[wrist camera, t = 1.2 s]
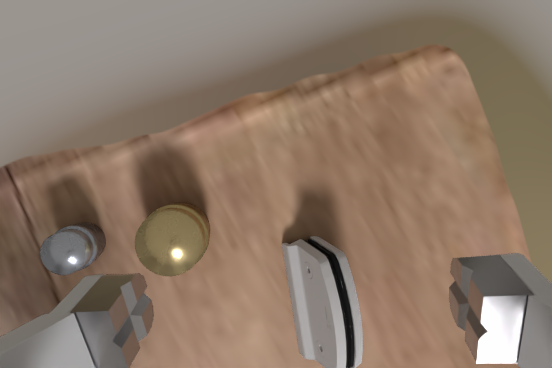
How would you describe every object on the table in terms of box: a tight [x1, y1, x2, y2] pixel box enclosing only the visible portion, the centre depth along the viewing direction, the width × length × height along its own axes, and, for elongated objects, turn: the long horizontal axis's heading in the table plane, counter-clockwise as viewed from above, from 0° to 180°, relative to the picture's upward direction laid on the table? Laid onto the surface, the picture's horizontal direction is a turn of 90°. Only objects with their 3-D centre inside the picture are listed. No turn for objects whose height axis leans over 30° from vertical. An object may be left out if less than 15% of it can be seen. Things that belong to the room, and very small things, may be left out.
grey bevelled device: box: [282, 236, 363, 368], centre depth 47 cm, size 17×5×10 cm, turn 9°
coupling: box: [40, 223, 106, 275], centre depth 46 cm, size 6×6×6 cm
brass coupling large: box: [135, 202, 210, 276], centre depth 46 cm, size 8×8×7 cm
